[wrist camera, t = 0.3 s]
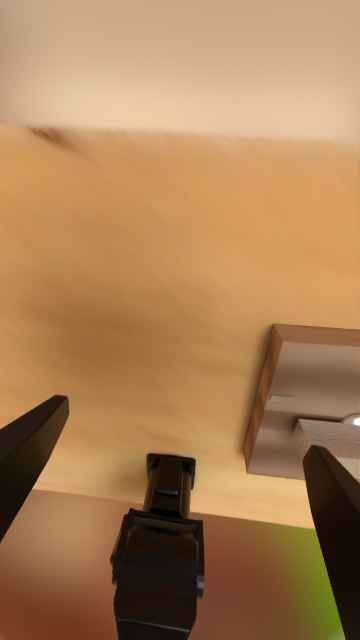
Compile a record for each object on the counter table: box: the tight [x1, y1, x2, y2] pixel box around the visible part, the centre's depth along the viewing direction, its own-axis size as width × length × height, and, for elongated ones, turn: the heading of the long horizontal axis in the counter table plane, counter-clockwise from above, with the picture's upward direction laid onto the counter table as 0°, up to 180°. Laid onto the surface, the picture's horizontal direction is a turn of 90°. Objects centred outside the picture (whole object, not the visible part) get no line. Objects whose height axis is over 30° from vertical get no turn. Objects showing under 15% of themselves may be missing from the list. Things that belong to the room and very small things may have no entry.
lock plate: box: [243, 324, 360, 483], centre depth 24 cm, size 18×18×3 cm
